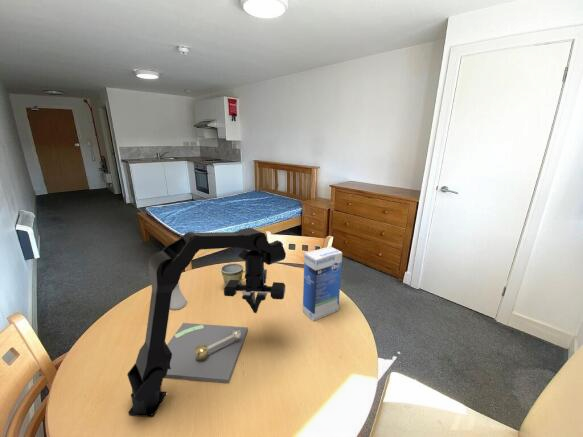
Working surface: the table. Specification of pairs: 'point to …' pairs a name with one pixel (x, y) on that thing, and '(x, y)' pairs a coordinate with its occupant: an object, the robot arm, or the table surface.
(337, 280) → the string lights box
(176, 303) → the flask
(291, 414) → the table surface
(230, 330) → the dial board
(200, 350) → the lever
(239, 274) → the ceramic cup
